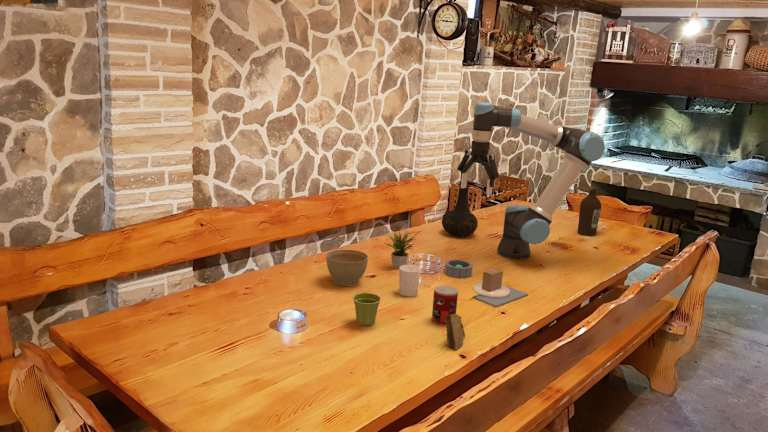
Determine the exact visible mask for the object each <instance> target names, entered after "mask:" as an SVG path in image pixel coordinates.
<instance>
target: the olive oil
mask: <svg viewBox="0 0 768 432" xmlns="http://www.w3.org/2000/svg"><path fill="white" fill-rule="evenodd" d="M588 192H589V193H588V195H586V196H585V197H584V198H583V199H582V200H581V201H580V204H579V213H578V225H577V234H579V235H580V236H584V237H595V236H596V235H597V231H598V228H599V220H600V215H601V210H602V202H601V200H600V199H599V198H598V196H597V187H595V186H594V187H593V186H591V187H590V188H589V191H588Z"/></svg>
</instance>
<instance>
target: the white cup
mask: <svg viewBox="0 0 768 432" xmlns="http://www.w3.org/2000/svg"><path fill="white" fill-rule="evenodd" d="M398 269H399V271H398V272H399V273H398V287H399V288H398V292H399V294H400V295H401V296H404V297H409V298H411V297H415V296H417V295H418V290H419V285H420V276H421V270H422V268H421V267H420V266H418V265H414V264H406V265H402V266H400V267H399V268H398Z"/></svg>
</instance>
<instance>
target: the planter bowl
mask: <svg viewBox="0 0 768 432" xmlns="http://www.w3.org/2000/svg"><path fill="white" fill-rule="evenodd" d="M325 258H326V268H327V270H328V273H329V274H330V277H331V278H332V280H333V282H334V284H335V285H337V286H342V287H353V286H357V285H358V283H359V282H360V281H359V280H361V278H363V276H364V274H365V272H366V269H367V267H368V261H369V255H368V254H367V253H366V252H364V251H361V250H355V249H335V250H331V251H328V252H327V253H326V255H325Z"/></svg>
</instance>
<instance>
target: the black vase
mask: <svg viewBox="0 0 768 432" xmlns="http://www.w3.org/2000/svg"><path fill="white" fill-rule="evenodd" d="M457 185H458V186H459V187H458V195H457V199H456V203H455V206H454V208H453V210H452V209H451V210H447V211H445V212H444V213H443V215H442V219H441V225H442V229H443V230H444V232H446V233H447V234H448V235H449V236H451V237H453V238H454V237H455V238H467V237H469V236H471V235H473V234H474V233H475V232H476V230H477V228H478V226H479V223H478V222H479V221H478V219H477V217H476V215H475V214H473V213H472V212H471V211H470V209H469V188H470V187H471V184H470V183H469V180H467V185H466V188H461V180H459V183H458V184H457Z"/></svg>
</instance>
